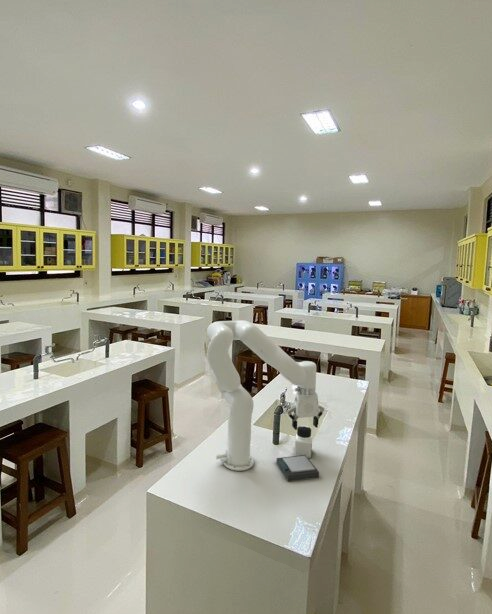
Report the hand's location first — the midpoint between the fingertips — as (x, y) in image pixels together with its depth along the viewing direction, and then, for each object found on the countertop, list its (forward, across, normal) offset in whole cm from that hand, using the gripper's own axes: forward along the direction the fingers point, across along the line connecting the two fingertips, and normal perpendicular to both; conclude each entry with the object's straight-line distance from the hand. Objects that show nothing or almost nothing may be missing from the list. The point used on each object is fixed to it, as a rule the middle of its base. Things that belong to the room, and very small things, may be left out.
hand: (305, 427), depth 165 cm
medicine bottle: (+12, -1, 0) cm, 12 cm away
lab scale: (+12, -9, -12) cm, 19 cm away
